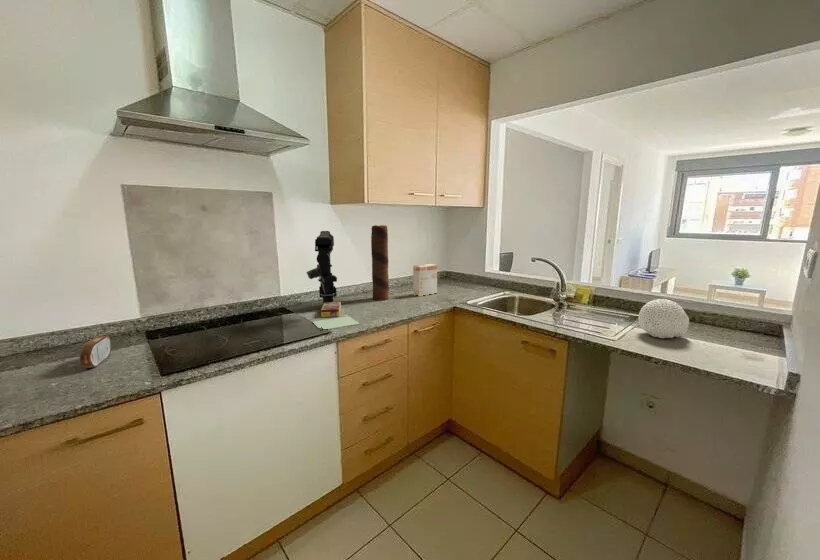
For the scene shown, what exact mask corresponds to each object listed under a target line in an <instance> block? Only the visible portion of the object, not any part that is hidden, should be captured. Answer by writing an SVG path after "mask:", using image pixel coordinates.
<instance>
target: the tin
mask: <svg viewBox="0 0 820 560" xmlns="http://www.w3.org/2000/svg"><path fill="white" fill-rule="evenodd" d="M111 345H112V342H111V338H110V336H108V335H96V336H95V337H94V338H93V337H92V339H90V340H89V341H87V342H85V343H84V344H83V345H82V347H81V350H80V353H79V362H80V365H81V367H82V368H83V369H91V368H97V367H99V365H101V364H102V363H103V362H104V361H106V360H107V359H108V358H109V357H110V355H111V352H112V346H111Z"/></svg>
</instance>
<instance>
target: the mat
mask: <svg viewBox="0 0 820 560" xmlns="http://www.w3.org/2000/svg"><path fill="white" fill-rule="evenodd" d="M312 322H313V323H314V324H313V323H312V324H313V325H314V326H315V327H317V329H319V328H321V327H322V328H323V329H328V330H327V331H329V330H334V329H340V328H345V327H346V328H347V327H352V326H359V325H360V323H359V322H358V321H357V320H355V319H354V318H352V317H351V316H349V315H347V316H339V317H334V318H327V319H321V320H315V321H312Z"/></svg>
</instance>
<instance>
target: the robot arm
mask: <svg viewBox="0 0 820 560" xmlns="http://www.w3.org/2000/svg"><path fill="white" fill-rule="evenodd" d="M319 233H320V234H319V235H318V236H316V239H314V240H315V241H314V251H315V252H318V253H317V256H316V262H317V263H318V264H316V268H312V269H310V270H308V271H306V274H307V276H308V279H310V280H312V279H317V278H318V279H317V282H319V283H320V286H318V287H319V288H318V290H319V291H318V292H319V299H320V298H322V305H320V307H321V308H322V307H323V305H324V302H334V298H335V297H337V296H338V292H337V288H336V286H335V284H334V282H335V283H336V282H338V277H337V276H336V275H334V274H333V272H331V271H332V270H331V269H332V267H333V265H332V264H331V254H332V252H333V251H334V246H335V240H334V239H335V238H334V236H333V235H332V234H331V232H330V230H321V231H320V232H319Z"/></svg>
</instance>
